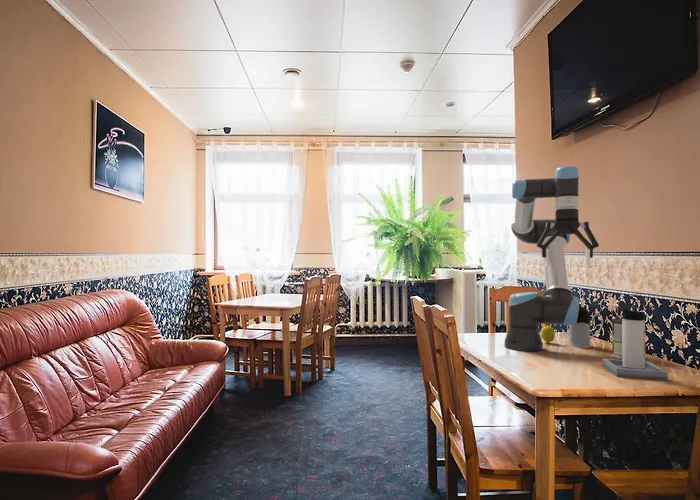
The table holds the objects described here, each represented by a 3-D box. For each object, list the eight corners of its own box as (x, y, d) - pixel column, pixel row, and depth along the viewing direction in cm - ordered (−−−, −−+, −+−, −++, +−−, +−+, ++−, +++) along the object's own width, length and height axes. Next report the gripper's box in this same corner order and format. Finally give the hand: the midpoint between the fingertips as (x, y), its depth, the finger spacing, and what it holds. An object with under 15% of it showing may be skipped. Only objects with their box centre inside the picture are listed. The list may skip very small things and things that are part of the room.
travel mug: (617, 366, 141) (617, 308, 141) (637, 367, 141) (636, 308, 141) (629, 372, 135) (628, 310, 135) (649, 372, 135) (649, 310, 135)
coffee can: (606, 353, 167) (606, 318, 167) (634, 354, 166) (633, 318, 166) (620, 359, 156) (620, 321, 157) (650, 360, 155) (649, 322, 156)
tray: (616, 376, 133) (616, 368, 133) (602, 365, 146) (602, 358, 146) (667, 380, 129) (667, 372, 129) (648, 369, 143) (648, 361, 143)
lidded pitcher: (564, 343, 186) (564, 309, 186) (598, 344, 185) (598, 310, 185) (573, 347, 177) (573, 312, 178) (608, 348, 176) (608, 313, 176)
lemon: (544, 341, 190) (543, 323, 190) (556, 343, 186) (556, 325, 186) (539, 343, 186) (539, 325, 186) (552, 344, 182) (552, 326, 182)
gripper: (531, 208, 152) (531, 266, 152) (608, 207, 146) (608, 267, 145) (528, 210, 159) (528, 266, 159) (601, 209, 153) (602, 267, 152)
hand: (566, 266), depth 152 cm, fingers open, 13 cm apart
